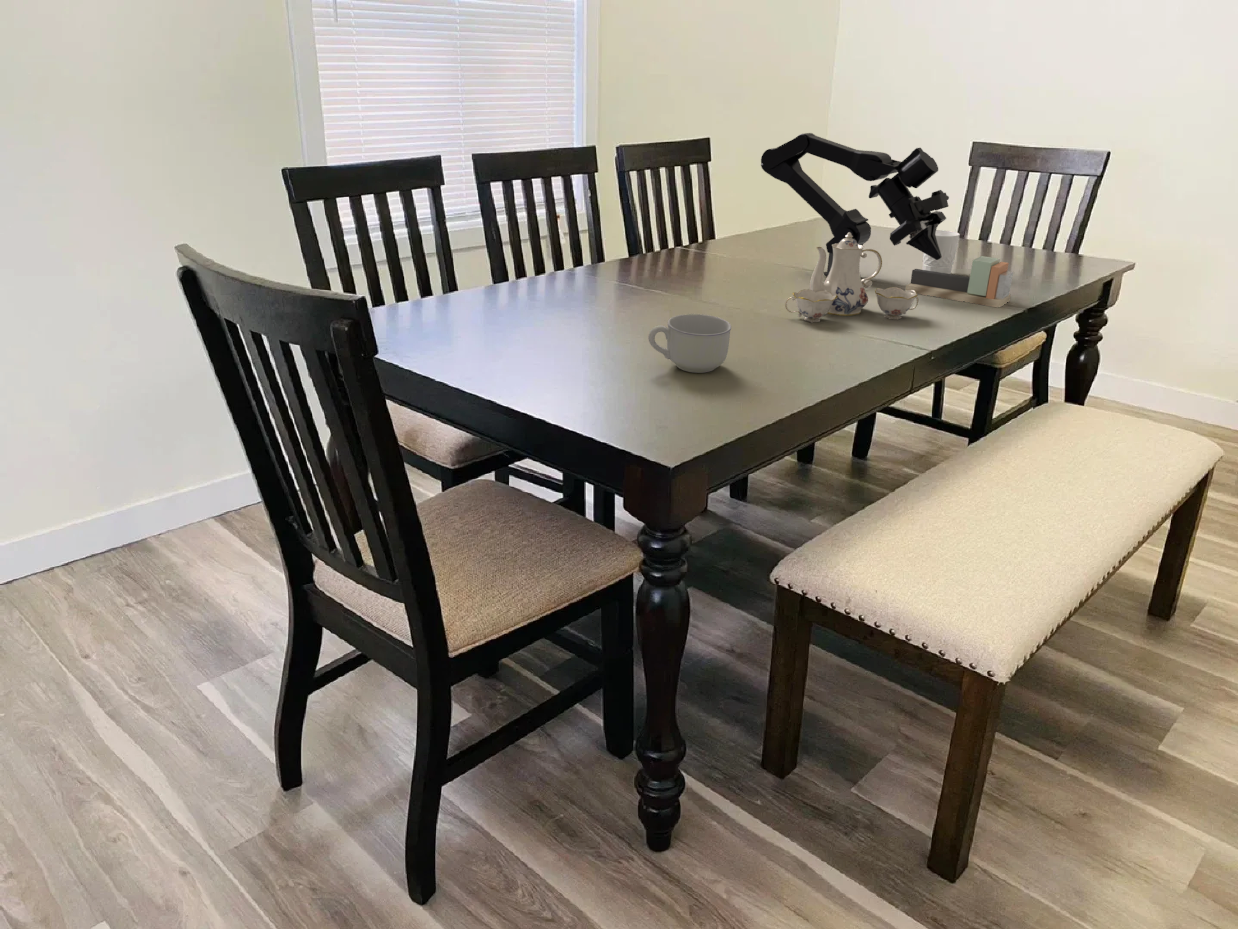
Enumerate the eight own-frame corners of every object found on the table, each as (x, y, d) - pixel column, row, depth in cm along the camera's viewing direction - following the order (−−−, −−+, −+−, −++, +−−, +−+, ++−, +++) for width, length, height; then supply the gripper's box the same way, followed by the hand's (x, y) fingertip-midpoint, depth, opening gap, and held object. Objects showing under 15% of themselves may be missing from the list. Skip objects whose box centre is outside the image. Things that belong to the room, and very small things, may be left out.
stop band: (985, 297, 198) (991, 266, 195) (995, 292, 203) (1001, 261, 200) (993, 299, 197) (999, 267, 194) (1002, 293, 202) (1008, 262, 199)
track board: (905, 291, 208) (906, 285, 208) (917, 286, 213) (918, 279, 213) (999, 307, 197) (1000, 300, 196) (1009, 301, 202) (1010, 294, 201)
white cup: (948, 271, 229) (955, 230, 225) (956, 278, 222) (963, 236, 217) (916, 270, 229) (922, 229, 225) (922, 277, 222) (929, 235, 218)
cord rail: (910, 283, 210) (912, 270, 208) (913, 281, 211) (915, 268, 210) (997, 297, 199) (999, 283, 197) (1000, 295, 200) (1002, 282, 199)
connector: (995, 298, 198) (999, 274, 196) (1002, 294, 201) (1006, 270, 199) (1001, 299, 197) (1006, 275, 195) (1008, 295, 200) (1013, 271, 198)
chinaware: (800, 336, 181) (812, 253, 172) (766, 306, 194) (776, 228, 186) (925, 327, 188) (943, 248, 179) (884, 299, 201) (899, 224, 193)
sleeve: (967, 293, 201) (972, 259, 198) (975, 288, 205) (981, 256, 202) (985, 296, 198) (991, 262, 195) (993, 291, 202) (1000, 258, 199)
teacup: (723, 357, 162) (726, 313, 159) (732, 378, 152) (736, 331, 149) (645, 357, 162) (646, 313, 158) (648, 377, 152) (650, 330, 148)
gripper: (912, 182, 194) (954, 242, 192) (944, 174, 207) (984, 230, 206) (872, 215, 202) (912, 273, 200) (905, 205, 215) (943, 260, 214)
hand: (939, 258), depth 205 cm, fingers closed
